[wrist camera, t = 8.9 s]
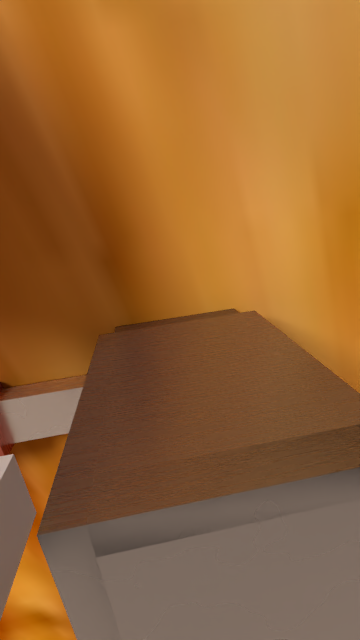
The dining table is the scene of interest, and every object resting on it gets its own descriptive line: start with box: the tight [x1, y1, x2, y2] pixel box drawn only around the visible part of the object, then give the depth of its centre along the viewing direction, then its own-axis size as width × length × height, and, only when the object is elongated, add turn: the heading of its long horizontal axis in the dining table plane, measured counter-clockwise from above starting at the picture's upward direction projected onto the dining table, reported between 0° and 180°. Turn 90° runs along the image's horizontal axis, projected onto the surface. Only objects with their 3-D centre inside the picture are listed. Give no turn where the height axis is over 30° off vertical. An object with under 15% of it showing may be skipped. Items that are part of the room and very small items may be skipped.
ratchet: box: [0, 309, 238, 456], centre depth 13 cm, size 7×18×6 cm, turn 97°
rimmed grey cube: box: [37, 311, 360, 640], centre depth 11 cm, size 7×7×9 cm
